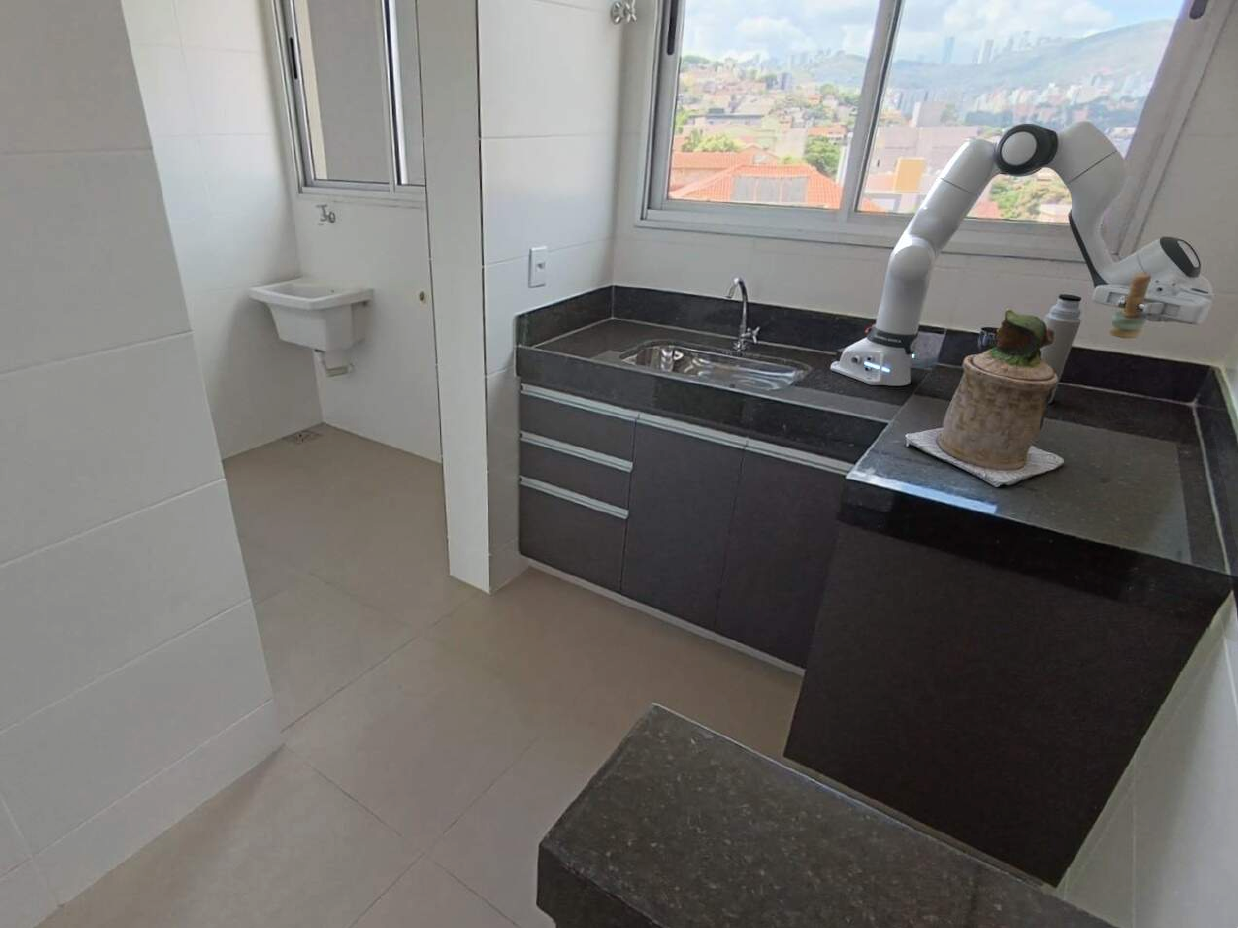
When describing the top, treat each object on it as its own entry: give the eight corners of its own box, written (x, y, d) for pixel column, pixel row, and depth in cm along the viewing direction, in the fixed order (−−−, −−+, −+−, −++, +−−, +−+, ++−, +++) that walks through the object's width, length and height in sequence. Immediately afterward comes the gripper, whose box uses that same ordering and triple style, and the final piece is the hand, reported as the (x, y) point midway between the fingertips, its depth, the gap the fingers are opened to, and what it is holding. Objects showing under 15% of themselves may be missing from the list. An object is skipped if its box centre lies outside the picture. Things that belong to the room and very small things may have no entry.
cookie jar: (1002, 491, 135) (1057, 335, 120) (898, 444, 153) (935, 303, 138) (1066, 466, 147) (1123, 321, 132) (963, 425, 165) (1003, 293, 151)
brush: (1105, 335, 143) (1122, 277, 136) (1112, 327, 146) (1129, 269, 139) (1136, 340, 139) (1156, 281, 133) (1143, 332, 142) (1162, 273, 136)
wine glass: (959, 378, 197) (974, 328, 190) (979, 376, 200) (994, 326, 193) (982, 387, 191) (998, 335, 184) (1002, 385, 194) (1018, 334, 187)
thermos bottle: (1045, 394, 188) (1081, 293, 175) (1056, 405, 181) (1094, 300, 168) (1015, 391, 189) (1048, 291, 176) (1024, 401, 182) (1059, 297, 169)
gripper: (1115, 276, 152) (1084, 280, 145) (1224, 295, 137) (1194, 301, 130) (1105, 304, 155) (1073, 309, 148) (1210, 326, 139) (1180, 333, 133)
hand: (1131, 306), depth 139 cm, fingers closed on brush, 3 cm apart
